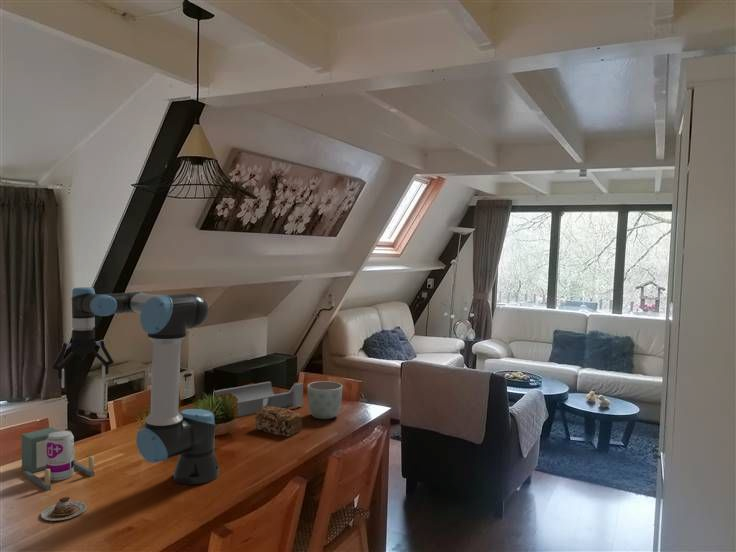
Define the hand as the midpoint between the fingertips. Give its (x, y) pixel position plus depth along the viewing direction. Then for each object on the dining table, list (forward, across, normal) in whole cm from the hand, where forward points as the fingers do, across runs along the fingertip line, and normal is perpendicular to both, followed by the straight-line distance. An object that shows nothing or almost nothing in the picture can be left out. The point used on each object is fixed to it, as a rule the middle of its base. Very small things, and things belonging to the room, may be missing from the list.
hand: (83, 385), depth 203 cm
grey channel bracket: (+28, -82, -31) cm, 92 cm away
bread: (+28, -76, +8) cm, 81 cm away
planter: (+28, -103, 0) cm, 107 cm away
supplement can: (+28, +9, +15) cm, 33 cm away
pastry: (+28, +10, +44) cm, 53 cm away
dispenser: (+27, +10, +10) cm, 31 cm away
